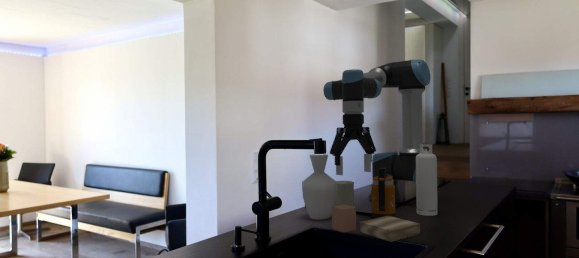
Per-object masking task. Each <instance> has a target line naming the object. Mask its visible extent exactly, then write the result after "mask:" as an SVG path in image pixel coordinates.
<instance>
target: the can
mask: <svg viewBox="0 0 579 258" xmlns="http://www.w3.org/2000/svg"><path fill="white" fill-rule="evenodd" d="M335 181H336V182H337V197H336V201H335V205H334V206H338V205H344V204H345V205H349V206H353V207H355V182H354V181H352V180H335Z"/></svg>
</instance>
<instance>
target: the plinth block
mask: <svg viewBox="0 0 579 258" xmlns="http://www.w3.org/2000/svg"><path fill="white" fill-rule="evenodd" d="M359 233H361V234H365V235H368V236H370V237H374V238H377V239H381V240H383V241H386V242H390V243H393V242H396V241H399V240H400V239H401V240H404V239H407V237H408V238H411V237H415V236H419V235H421V223H419V222H414V221H411V220H406V219H403V218H399V217H396V216H395V217H391V216H385V217H380V218H372V219H368V220H362V221H359ZM401 240H400V241H401Z"/></svg>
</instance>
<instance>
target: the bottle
mask: <svg viewBox="0 0 579 258" xmlns="http://www.w3.org/2000/svg"><path fill="white" fill-rule="evenodd" d="M424 147H427V148H424ZM423 149H424V150H425V151H424V150H423ZM428 149H429V150H428ZM415 188H416V189H415V194H416V201H415V202H416V214H418V215H419V216H427V217H428V216H429V217H430V216H433V217H434V216H437V215H438V158H437V156H436V154H434V153H433V144H428V143H427V144H424V143H423V144H422V145H420V154H418V155H417V156H416V182H415Z"/></svg>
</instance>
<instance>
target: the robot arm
mask: <svg viewBox="0 0 579 258" xmlns="http://www.w3.org/2000/svg"><path fill="white" fill-rule="evenodd" d="M430 83H431V72H430V68H429V66H428V64H427V62H426V61H425V60H424V59H408V60H401V61H393V62H387V63H386V64H385V63H384V64H381V65H379V66H376V67H373V68H372V69H370V70H369V71H368V72H364V71H363V70H362V69H357V68H353V69H346V70H344V71H343V72H342V76H341V79H338V80H331V81H327V82H326V83H325V84H324V85H323V88H322V89H323V96H324V97H325V99H326V100H328V101H340V100H341V101H342V102H341V103H342V104H341V105H342V106H341V107H342V113H343V114H342V125H343V126H342V127H338V126H337V128H336V131H335V132H336V133H335V136H334V139H333V142H332V144H331V147H330V150H329V155H332V156H333V157H334V165H335V175H336V176H343V175H344V164H343V163H344V161H343V160H344V156H343V155H342V154H343V152H344V151H345V149H346V147H347V146H348V144H349V142H351V141H355V140H356V141H357V142H358V143H359V145H360V147H361V148H362V149H363V151H364V154H363V172H364V173H365V172H366V173H371V172H372V175H371V176H372V179H373V178H374V177H377V176H378V172H379V169H380V167H386V169H387V171H386V173H387V174H388V177H389V175H391V176H392V178H393V185H394V186H395V203H397V204H400V202H401V203H402V202H403V196H402V194H401V189H400V188H399V181H405V182H413V183H416V156H417V155H418V154H420V145H422V144H424V143H423V142H424V140H423V137H424V136H423V93H424V92H426V87H427V86H428V85H430ZM383 88H387V89H388V88H389V89H390V88H391V89H393V88H397V91H398V92H399V93H400V94H401V115H402V116H401V117H402V118H401V119H402V120H401V121H402V122H401V123H402V125H401V127H402V132H401V134H402V148H401V149H400V150H399V152H398V151H389V152H388V151H386V152H379V153H376V152H377V148H376V146H375V143H374V141H373V138H372V137H373V136H372V135H371V133H370V131H371V129H370V126H363V125H364V124H365V115H364V112H365V99H369V100H370V99H371V100H372V99H376V98H378V97H379V96H380V95H381V93H382V89H383ZM423 150H424V151H425V148H423ZM386 176H387V175H386ZM368 201H369V202H370V203H372V191H371V190H370V194H369V195H368Z"/></svg>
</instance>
